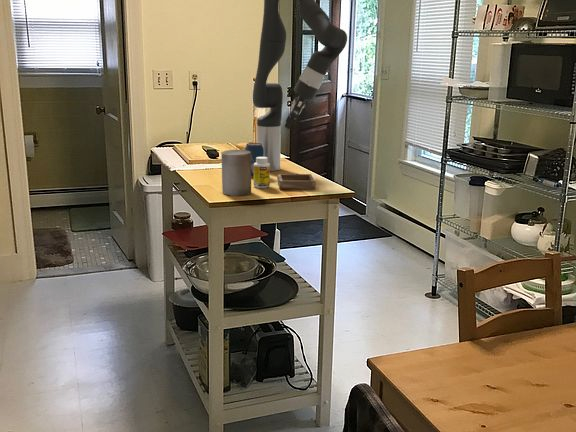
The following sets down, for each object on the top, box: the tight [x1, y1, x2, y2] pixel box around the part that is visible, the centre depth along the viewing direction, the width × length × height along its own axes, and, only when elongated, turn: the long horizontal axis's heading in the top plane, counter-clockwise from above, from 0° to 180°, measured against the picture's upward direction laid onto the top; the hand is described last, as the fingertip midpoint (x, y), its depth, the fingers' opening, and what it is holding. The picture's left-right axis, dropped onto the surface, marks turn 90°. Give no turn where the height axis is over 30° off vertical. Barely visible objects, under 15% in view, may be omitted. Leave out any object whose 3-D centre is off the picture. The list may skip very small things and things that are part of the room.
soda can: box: [244, 142, 264, 178], centre depth 235 cm, size 7×7×12 cm
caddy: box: [277, 173, 316, 191], centre depth 220 cm, size 12×12×3 cm
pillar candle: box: [220, 147, 252, 197], centre depth 207 cm, size 10×10×15 cm
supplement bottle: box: [253, 157, 271, 189], centre depth 217 cm, size 6×6×10 cm
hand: (287, 125), depth 216 cm, fingers open, 8 cm apart
